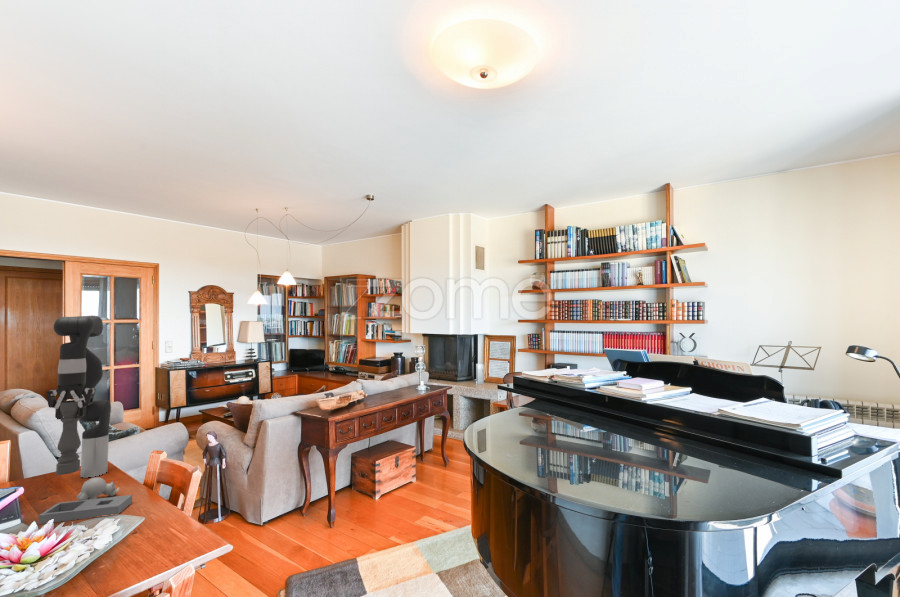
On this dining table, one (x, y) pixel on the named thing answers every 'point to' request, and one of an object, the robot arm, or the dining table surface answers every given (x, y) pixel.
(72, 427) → the candle holder
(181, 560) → the dining table surface
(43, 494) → the dining table surface
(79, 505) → the hole board
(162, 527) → the dining table surface
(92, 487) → the toy rhinoceros
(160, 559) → the dining table surface
